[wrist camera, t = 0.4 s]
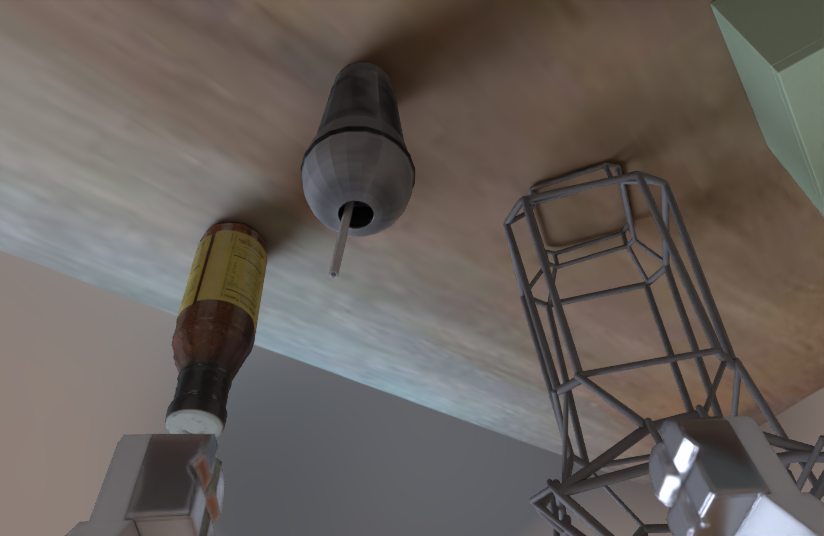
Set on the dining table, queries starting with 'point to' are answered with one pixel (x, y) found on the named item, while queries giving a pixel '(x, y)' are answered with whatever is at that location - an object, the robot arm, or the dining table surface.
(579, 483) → the geometric lantern
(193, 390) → the sauce bottle
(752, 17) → the cabinet
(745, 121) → the dining table surface
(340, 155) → the beverage cup
